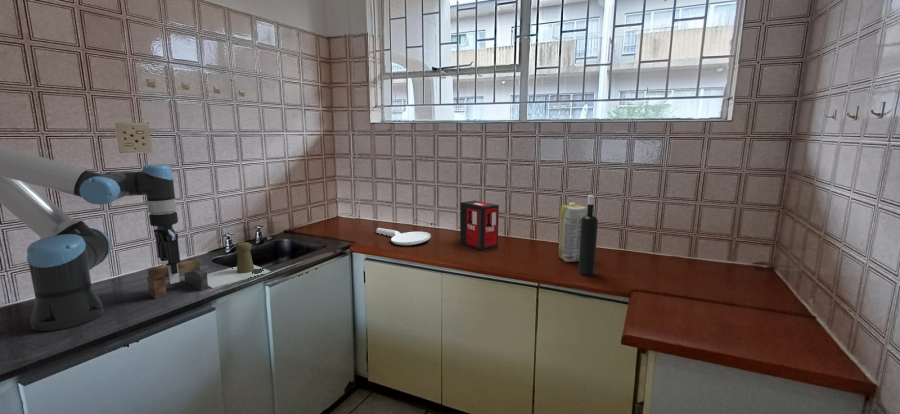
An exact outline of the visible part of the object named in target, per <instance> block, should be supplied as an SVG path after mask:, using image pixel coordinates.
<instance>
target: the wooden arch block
mask: <svg viewBox="0 0 900 414" xmlns="http://www.w3.org/2000/svg"><path fill="white" fill-rule="evenodd" d="M200 267H201V265H200V261H199V260H198V259H191V260H187V261H182V262H181V261H180V262H179V263H178V271H179V275H180V274H183V275H184V282H185V283H187V284H189V285H191V286H193V287H194V288H196V289H197V290H200V291H206V290H209V287H208V280H207V274H208V272H206V271H204V270H202V269H201V268H200ZM147 273H148V274H147V275H148V277H147V286H148V295H149V296H151V297H152V298H153V299H155V300H158V299H161V298H165V297H167V296H168V295H167V294H168V293H167V288H166V287H167V286H166V281H165V279H164V277H169V275H168V267H167V266H162V265H161V266H158V267H153V268H152V267H151V268H149V269H147Z"/></svg>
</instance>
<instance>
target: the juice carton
mask: <svg viewBox="0 0 900 414" xmlns="http://www.w3.org/2000/svg"><path fill="white" fill-rule="evenodd" d="M586 215H587V207H586V206H583V205H580V204H576V202H569V203H568V205H564V204H563V205H561V209H560V221H559V237H558V238H559V239H558V256H559V258H560V259H561V260H562V261H563V262H565V263H570V262H571V263H573V262H579V253H580V236H581V220H582V218H583V217H584V216H586Z"/></svg>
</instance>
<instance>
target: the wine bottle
mask: <svg viewBox="0 0 900 414" xmlns="http://www.w3.org/2000/svg"><path fill="white" fill-rule="evenodd" d="M594 203H595V194H588V195H587V208H586V216H584V217H583V218H582V220H581V236H580V253H579V261H578V274H579V275H581V276H586V277H589V276H590V277H592V276H594V275H595V270H596V269H595V268H596V256H597V255H596V254H597V239H598V225H599V224H598V223H599V220H598V218H597V217H596V216H595V215H593V214H594Z"/></svg>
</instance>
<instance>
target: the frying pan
mask: <svg viewBox="0 0 900 414" xmlns="http://www.w3.org/2000/svg"><path fill="white" fill-rule="evenodd" d="M375 231H376V234H377V233H379V234H378V235H381V234H383V235H382V236H386V235H387V237H391V239H390V240H391V241H390V242H391V243H393V244H395V245H398V246H412V245H418V244H422V243H424V242H425V243H426V242H427V241H428V240H429V239H430V238H431V237H432V235H431V233H429V232H426V231H409V232H402V233H401V232H400V231H397V230H395V229H389V228H388V229H387V228H381V227H377V228H376V230H375Z"/></svg>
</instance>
